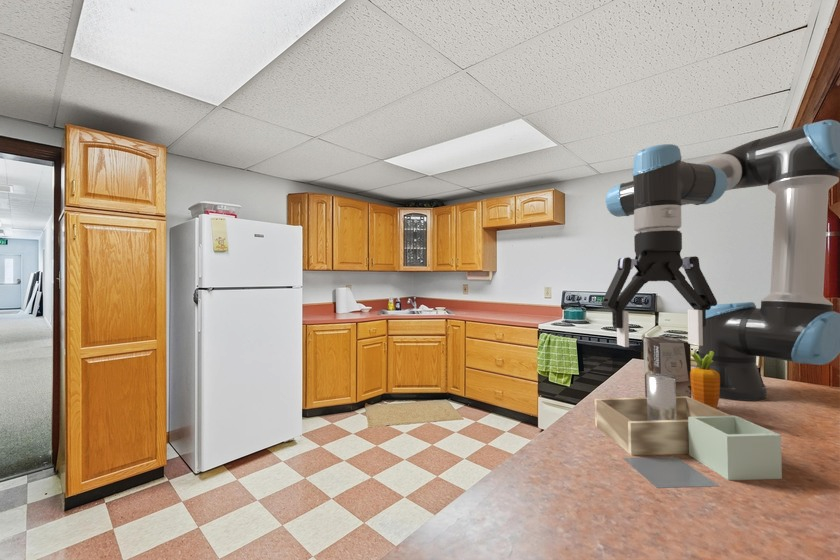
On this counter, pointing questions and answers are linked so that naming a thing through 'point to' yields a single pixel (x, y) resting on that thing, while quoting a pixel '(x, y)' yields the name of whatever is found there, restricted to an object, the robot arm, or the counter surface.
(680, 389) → the coffee box
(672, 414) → the tin can
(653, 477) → the coaster
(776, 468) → the square storage bin
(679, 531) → the counter surface
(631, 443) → the crate
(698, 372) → the carrot
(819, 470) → the counter surface
